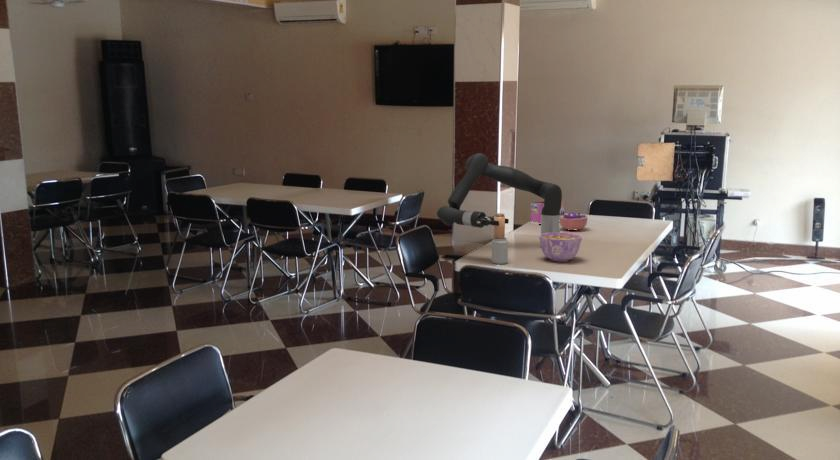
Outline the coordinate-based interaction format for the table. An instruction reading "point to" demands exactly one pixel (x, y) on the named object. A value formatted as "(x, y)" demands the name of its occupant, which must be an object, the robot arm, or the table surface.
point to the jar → (499, 230)
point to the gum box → (537, 209)
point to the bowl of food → (560, 245)
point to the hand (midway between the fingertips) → (503, 222)
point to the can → (499, 250)
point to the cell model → (573, 221)
